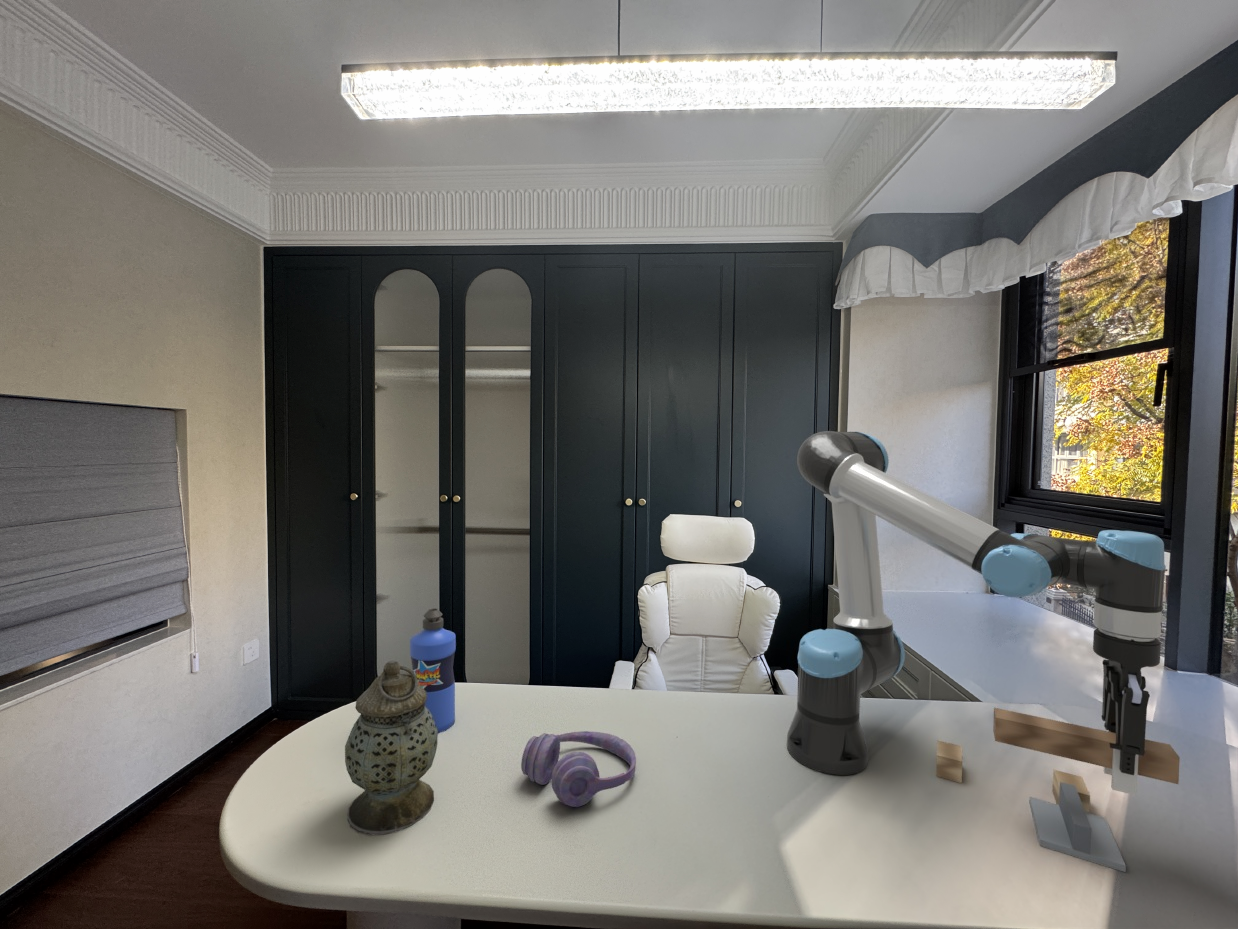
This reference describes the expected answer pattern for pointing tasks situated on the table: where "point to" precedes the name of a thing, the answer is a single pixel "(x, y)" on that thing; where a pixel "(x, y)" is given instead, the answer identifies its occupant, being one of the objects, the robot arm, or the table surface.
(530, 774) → the headphones
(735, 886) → the table surface
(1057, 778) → the block
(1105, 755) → the walnut bar
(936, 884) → the table surface
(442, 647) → the water bottle
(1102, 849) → the fulcrum
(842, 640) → the robot arm
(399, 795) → the lantern
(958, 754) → the block
